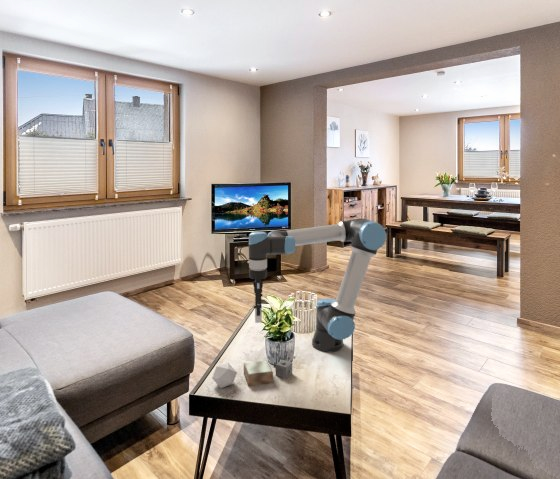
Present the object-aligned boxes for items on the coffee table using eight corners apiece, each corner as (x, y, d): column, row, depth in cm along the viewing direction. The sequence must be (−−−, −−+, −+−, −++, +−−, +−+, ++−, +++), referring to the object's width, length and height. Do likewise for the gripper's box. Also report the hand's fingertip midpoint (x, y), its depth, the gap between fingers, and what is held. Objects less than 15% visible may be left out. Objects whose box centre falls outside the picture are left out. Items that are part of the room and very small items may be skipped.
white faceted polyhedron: (230, 378, 164) (214, 360, 162) (244, 373, 159) (229, 355, 157) (220, 394, 157) (204, 376, 155) (234, 390, 152) (218, 372, 150)
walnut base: (266, 371, 169) (267, 360, 168) (272, 383, 159) (272, 371, 158) (243, 374, 166) (243, 362, 165) (248, 386, 157) (248, 374, 156)
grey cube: (275, 375, 165) (275, 364, 164) (281, 370, 170) (281, 359, 169) (286, 378, 163) (286, 367, 162) (292, 373, 167) (292, 362, 166)
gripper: (249, 262, 180) (249, 307, 184) (248, 276, 156) (249, 327, 159) (266, 261, 181) (266, 306, 184) (267, 276, 156) (267, 327, 160)
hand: (258, 316), depth 172 cm, fingers open, 13 cm apart
